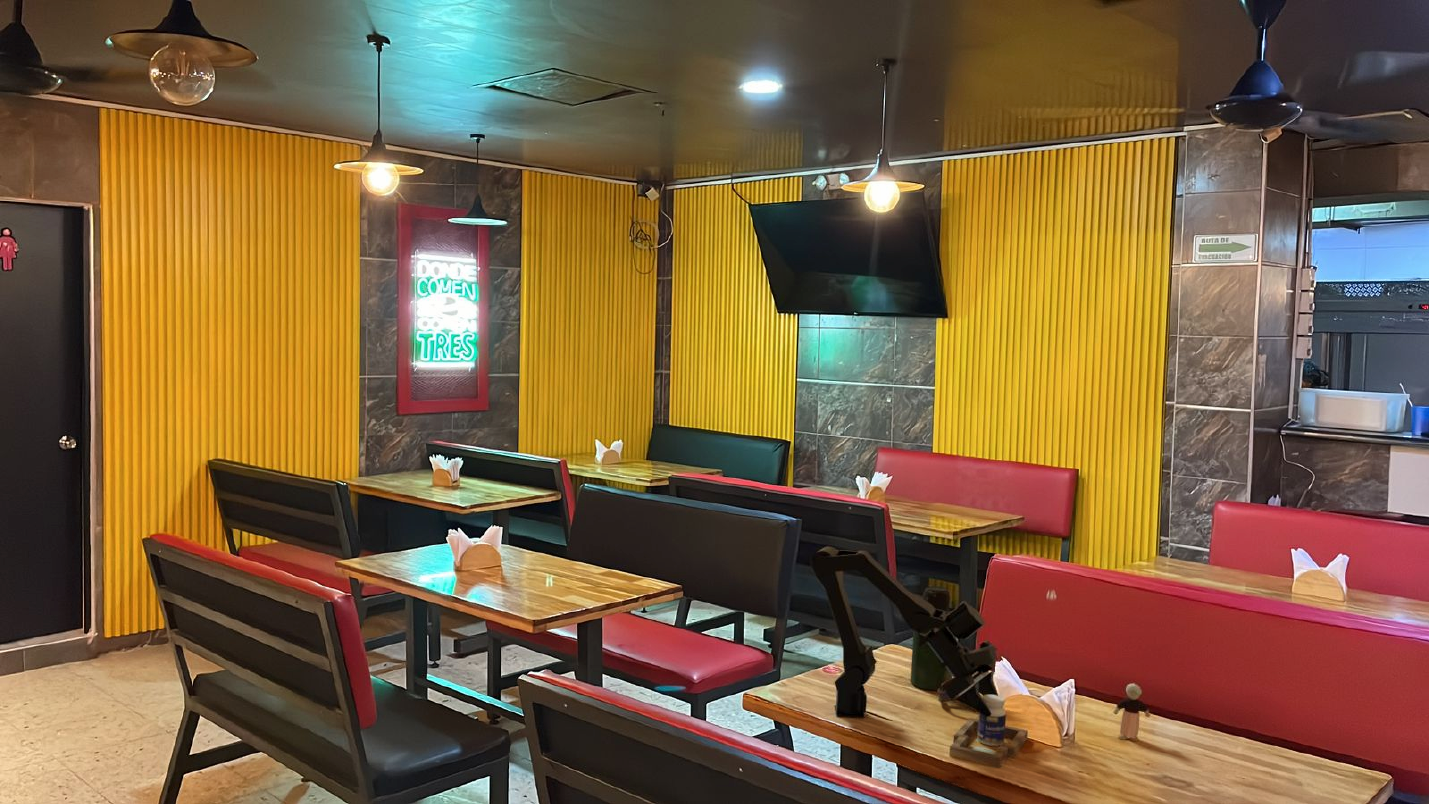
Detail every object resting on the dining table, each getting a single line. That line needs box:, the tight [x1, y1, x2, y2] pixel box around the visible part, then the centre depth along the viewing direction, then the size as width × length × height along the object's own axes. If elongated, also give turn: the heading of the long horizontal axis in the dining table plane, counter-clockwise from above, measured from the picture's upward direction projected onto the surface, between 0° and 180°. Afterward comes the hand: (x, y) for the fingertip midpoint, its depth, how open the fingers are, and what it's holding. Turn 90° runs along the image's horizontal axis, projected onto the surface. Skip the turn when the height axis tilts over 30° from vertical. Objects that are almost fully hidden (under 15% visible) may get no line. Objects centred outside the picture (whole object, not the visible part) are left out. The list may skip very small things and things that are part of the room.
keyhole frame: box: [949, 717, 1028, 769], centre depth 232 cm, size 20×13×2 cm, turn 151°
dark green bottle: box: [910, 585, 956, 691], centre depth 271 cm, size 10×10×25 cm
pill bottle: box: [977, 695, 1007, 747], centre depth 234 cm, size 6×6×10 cm
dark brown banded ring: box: [936, 677, 979, 714], centre depth 257 cm, size 12×10×8 cm
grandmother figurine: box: [1112, 683, 1151, 742], centre depth 240 cm, size 8×4×13 cm, turn 88°
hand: (995, 710), depth 234 cm, fingers open, 7 cm apart
